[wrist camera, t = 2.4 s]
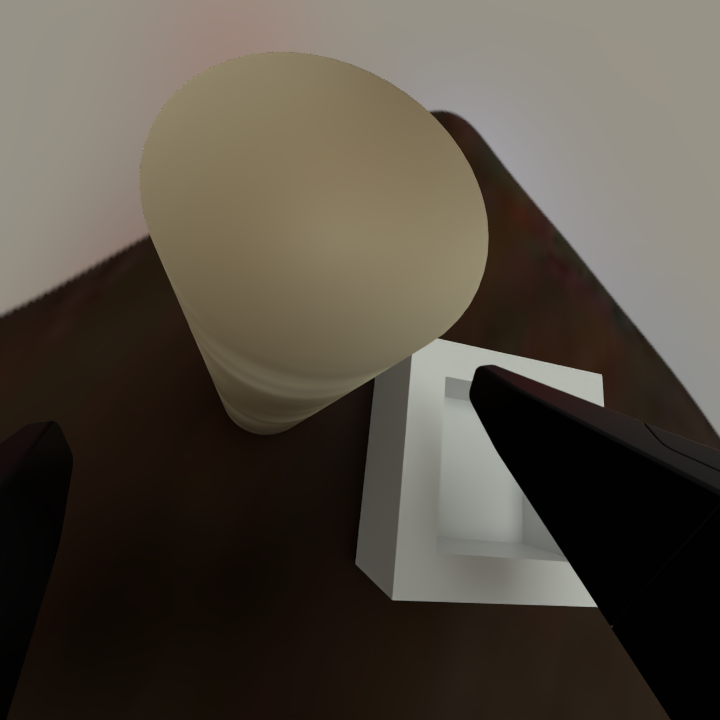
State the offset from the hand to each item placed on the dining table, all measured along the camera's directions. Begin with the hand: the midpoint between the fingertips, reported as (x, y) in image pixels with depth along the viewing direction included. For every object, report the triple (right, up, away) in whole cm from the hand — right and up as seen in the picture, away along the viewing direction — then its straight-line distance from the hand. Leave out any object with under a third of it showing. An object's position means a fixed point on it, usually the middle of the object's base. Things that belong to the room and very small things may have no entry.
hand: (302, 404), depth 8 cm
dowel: (-3, 0, +9) cm, 9 cm away
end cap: (+6, -4, +11) cm, 13 cm away
